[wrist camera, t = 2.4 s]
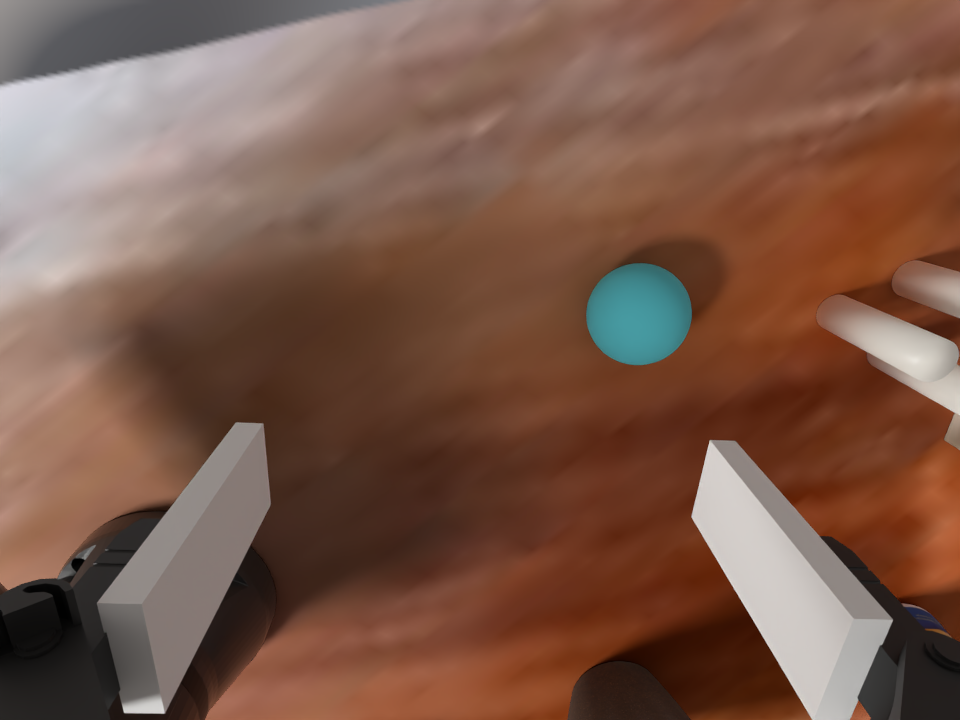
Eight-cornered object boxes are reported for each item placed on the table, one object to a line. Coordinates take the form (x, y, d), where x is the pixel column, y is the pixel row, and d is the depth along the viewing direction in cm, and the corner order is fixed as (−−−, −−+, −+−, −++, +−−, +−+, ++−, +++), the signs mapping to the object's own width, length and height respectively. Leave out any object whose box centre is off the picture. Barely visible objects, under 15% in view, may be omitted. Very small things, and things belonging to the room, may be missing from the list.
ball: (661, 346, 38) (696, 383, 32) (571, 342, 37) (591, 378, 32) (679, 256, 36) (720, 280, 30) (584, 250, 35) (607, 273, 30)
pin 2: (895, 368, 39) (1006, 428, 31) (862, 366, 39) (964, 427, 31) (907, 335, 38) (1024, 388, 30) (873, 333, 38) (982, 386, 30)
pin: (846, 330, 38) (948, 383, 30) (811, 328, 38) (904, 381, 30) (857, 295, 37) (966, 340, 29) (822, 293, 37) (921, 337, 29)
